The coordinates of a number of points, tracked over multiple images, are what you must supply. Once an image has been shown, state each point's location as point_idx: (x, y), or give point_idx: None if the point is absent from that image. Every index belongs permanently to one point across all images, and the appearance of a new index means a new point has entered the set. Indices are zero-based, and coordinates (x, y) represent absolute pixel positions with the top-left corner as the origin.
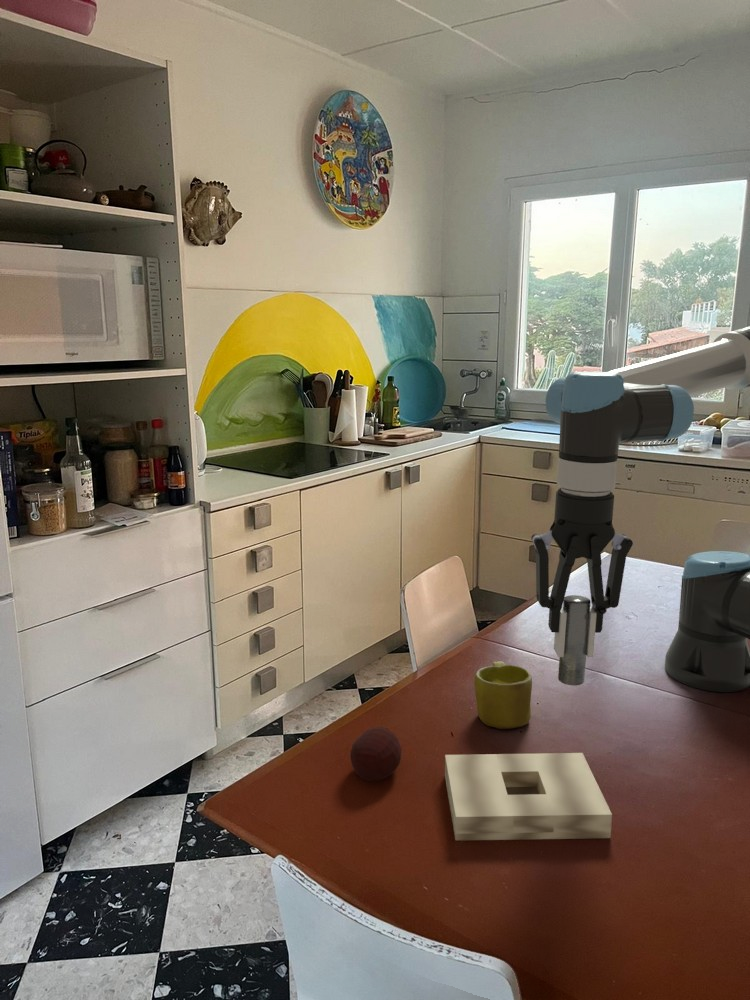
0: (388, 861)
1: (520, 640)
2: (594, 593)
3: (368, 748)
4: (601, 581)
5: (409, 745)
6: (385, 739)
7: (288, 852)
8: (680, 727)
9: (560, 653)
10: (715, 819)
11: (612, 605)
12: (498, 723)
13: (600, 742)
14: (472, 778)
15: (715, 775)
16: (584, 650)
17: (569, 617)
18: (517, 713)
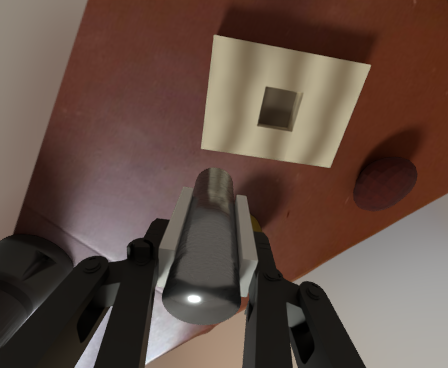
0: (425, 49)
1: None
2: (148, 309)
3: (411, 175)
4: (99, 364)
5: (328, 205)
6: (389, 185)
7: None
8: (86, 193)
9: (243, 198)
10: (100, 48)
11: (100, 262)
12: (250, 215)
13: (167, 183)
14: (324, 126)
15: (77, 118)
16: (197, 196)
17: (232, 250)
18: None
